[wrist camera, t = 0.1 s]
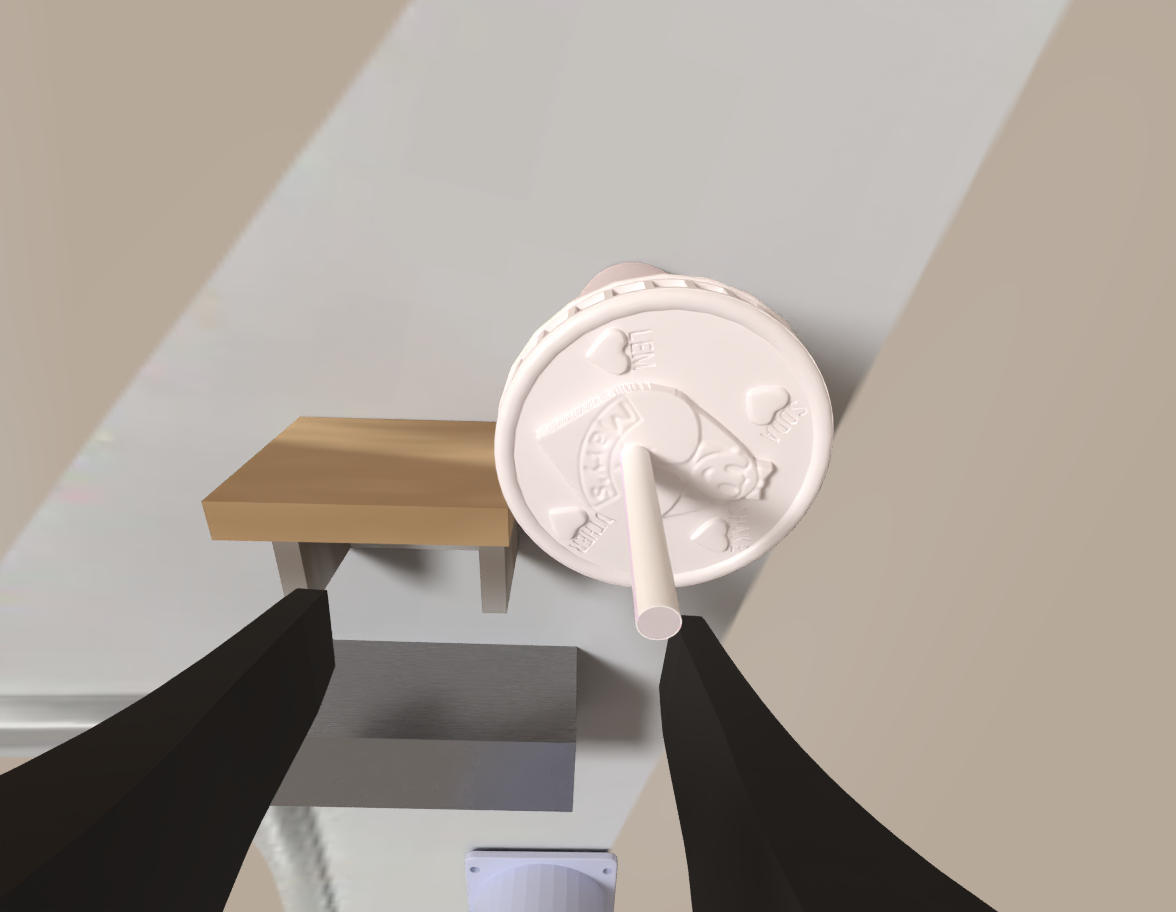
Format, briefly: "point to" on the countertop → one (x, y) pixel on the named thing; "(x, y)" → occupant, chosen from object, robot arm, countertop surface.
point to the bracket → (371, 497)
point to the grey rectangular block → (441, 729)
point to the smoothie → (661, 434)
